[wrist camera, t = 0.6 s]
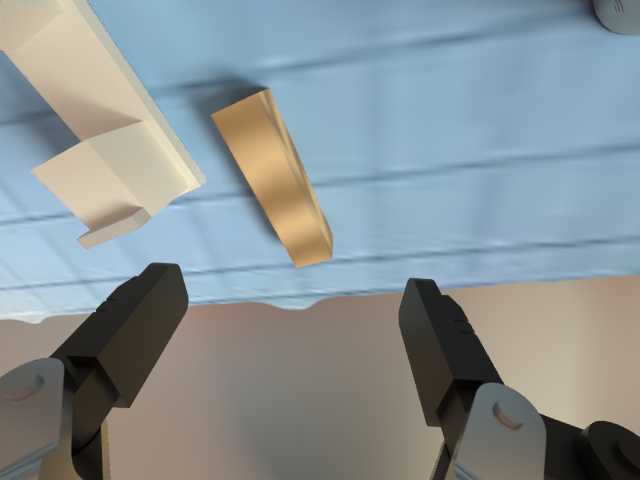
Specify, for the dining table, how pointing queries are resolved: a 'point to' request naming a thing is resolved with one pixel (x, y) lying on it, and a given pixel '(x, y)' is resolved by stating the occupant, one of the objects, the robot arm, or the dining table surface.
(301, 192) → the bar
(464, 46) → the dining table surface
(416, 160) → the dining table surface
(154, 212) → the display stand
